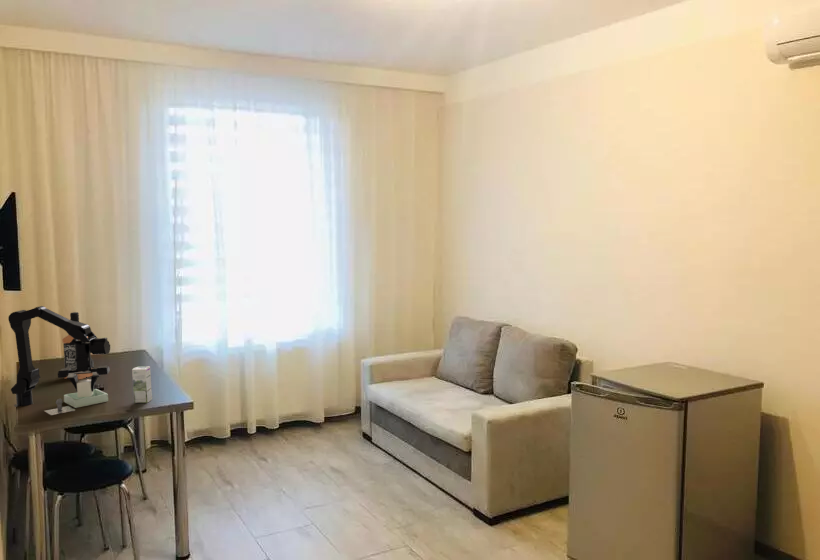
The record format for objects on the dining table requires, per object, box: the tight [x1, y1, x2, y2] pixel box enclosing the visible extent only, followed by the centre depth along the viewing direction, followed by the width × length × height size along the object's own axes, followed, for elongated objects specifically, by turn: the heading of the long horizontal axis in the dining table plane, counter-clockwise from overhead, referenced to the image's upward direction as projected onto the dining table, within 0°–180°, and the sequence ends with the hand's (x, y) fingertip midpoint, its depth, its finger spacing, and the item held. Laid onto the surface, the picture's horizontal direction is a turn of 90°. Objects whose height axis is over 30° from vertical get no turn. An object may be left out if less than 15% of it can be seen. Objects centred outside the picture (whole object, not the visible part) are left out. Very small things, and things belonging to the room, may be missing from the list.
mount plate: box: [44, 398, 76, 416], centre depth 264 cm, size 9×9×6 cm
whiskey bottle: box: [61, 311, 93, 381], centre depth 326 cm, size 10×10×32 cm
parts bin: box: [63, 388, 109, 409], centre depth 277 cm, size 13×13×4 cm
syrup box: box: [131, 365, 153, 404], centre depth 278 cm, size 6×6×14 cm
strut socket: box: [76, 379, 93, 397], centre depth 276 cm, size 5×5×6 cm
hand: (85, 391), depth 276 cm, fingers closed on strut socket, 5 cm apart
